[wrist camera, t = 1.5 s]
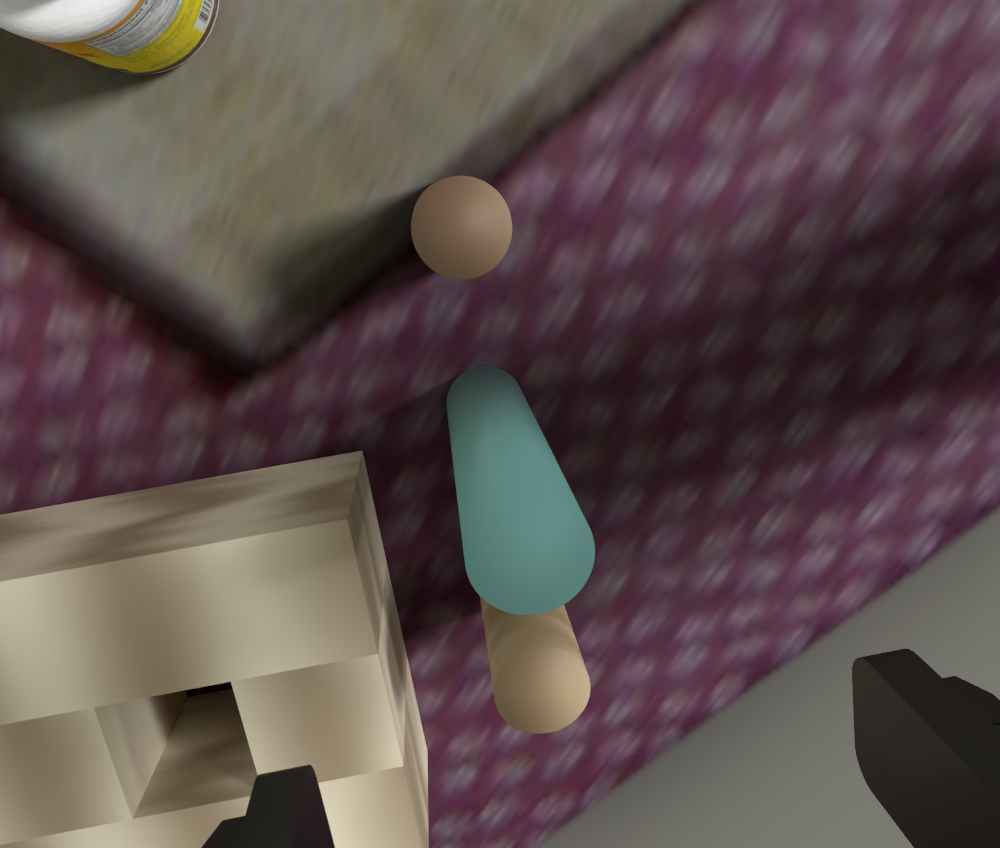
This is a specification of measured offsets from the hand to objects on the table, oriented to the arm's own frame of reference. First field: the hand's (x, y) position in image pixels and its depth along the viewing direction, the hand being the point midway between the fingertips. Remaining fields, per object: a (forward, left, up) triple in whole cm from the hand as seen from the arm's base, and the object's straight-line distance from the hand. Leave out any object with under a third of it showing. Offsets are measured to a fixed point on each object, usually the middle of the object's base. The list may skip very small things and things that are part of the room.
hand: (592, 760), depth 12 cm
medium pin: (0, +7, -21) cm, 22 cm away
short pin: (0, -7, -21) cm, 22 cm away
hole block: (+12, +8, -21) cm, 26 cm away
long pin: (0, 0, -21) cm, 21 cm away
